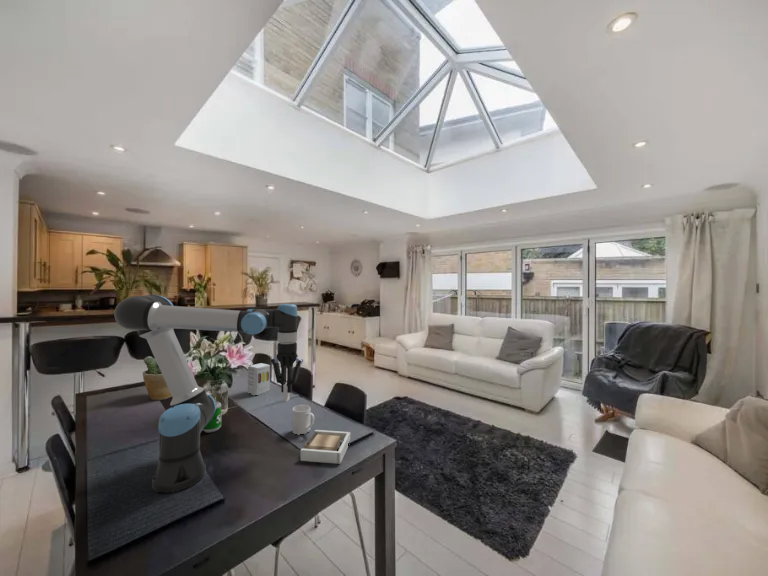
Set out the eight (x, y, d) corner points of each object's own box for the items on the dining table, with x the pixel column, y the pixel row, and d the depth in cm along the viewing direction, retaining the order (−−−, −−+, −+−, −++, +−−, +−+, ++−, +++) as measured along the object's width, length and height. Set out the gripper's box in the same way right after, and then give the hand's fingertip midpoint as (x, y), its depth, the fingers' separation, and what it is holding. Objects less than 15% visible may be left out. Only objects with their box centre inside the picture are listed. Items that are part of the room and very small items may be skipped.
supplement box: (256, 396, 182) (256, 368, 182) (247, 393, 187) (247, 365, 187) (270, 391, 190) (270, 364, 190) (261, 389, 195) (261, 362, 195)
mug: (288, 432, 138) (288, 408, 138) (302, 425, 145) (303, 403, 145) (306, 440, 131) (306, 415, 131) (320, 433, 137) (320, 409, 137)
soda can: (213, 434, 136) (213, 407, 136) (198, 432, 137) (198, 405, 137) (225, 426, 143) (225, 400, 143) (210, 425, 145) (211, 399, 144)
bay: (340, 463, 114) (340, 453, 114) (300, 460, 116) (300, 450, 116) (350, 441, 130) (350, 432, 130) (315, 439, 132) (315, 429, 132)
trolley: (303, 456, 119) (303, 442, 119) (312, 442, 129) (312, 430, 129) (333, 458, 118) (333, 445, 118) (340, 444, 128) (340, 432, 128)
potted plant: (162, 390, 191) (162, 350, 191) (189, 392, 188) (189, 351, 188) (134, 401, 173) (134, 357, 172) (163, 403, 170) (163, 358, 170)
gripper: (306, 341, 128) (305, 398, 128) (276, 340, 129) (275, 396, 129) (299, 344, 120) (298, 404, 120) (267, 343, 122) (266, 402, 122)
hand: (286, 400), depth 125 cm, fingers closed
